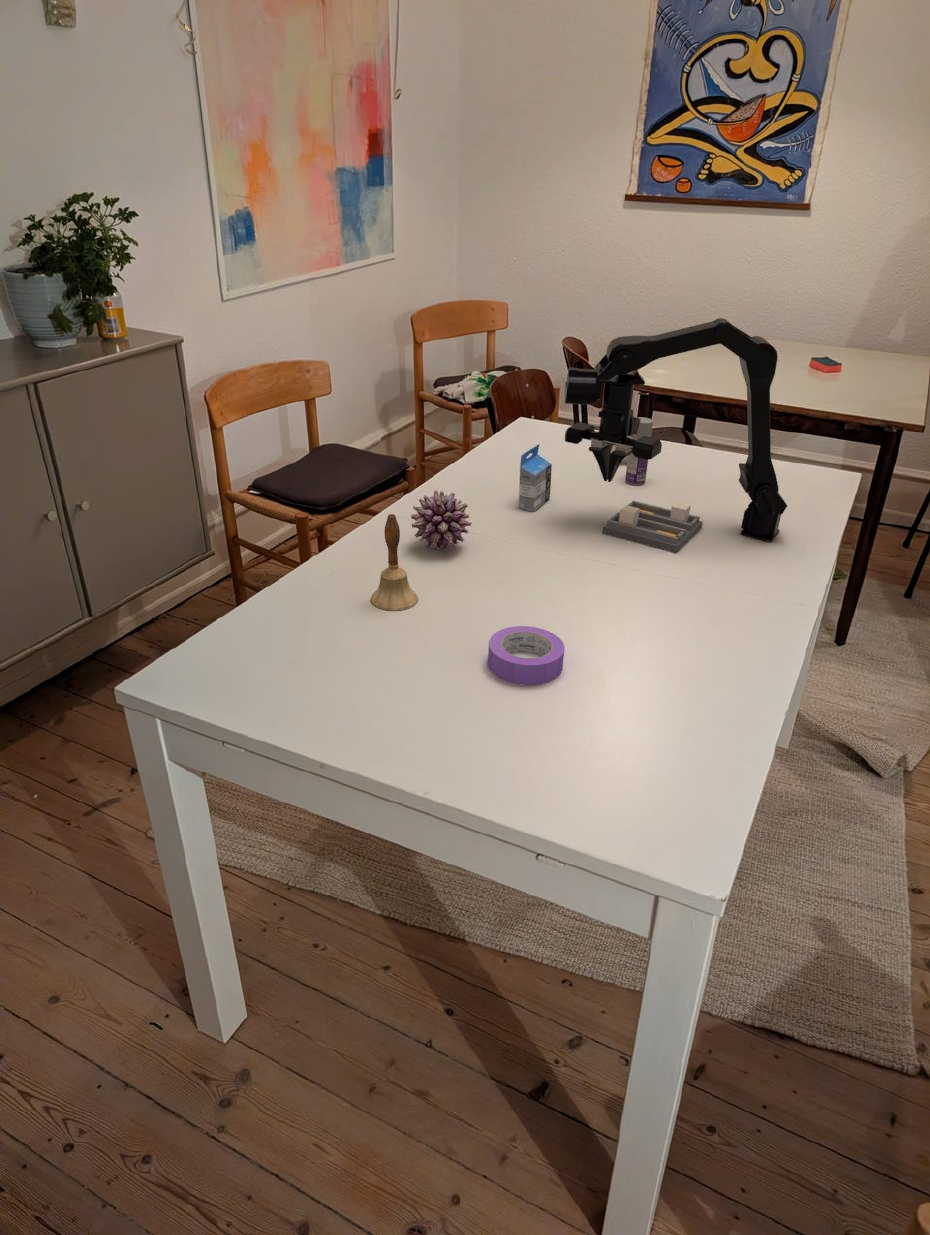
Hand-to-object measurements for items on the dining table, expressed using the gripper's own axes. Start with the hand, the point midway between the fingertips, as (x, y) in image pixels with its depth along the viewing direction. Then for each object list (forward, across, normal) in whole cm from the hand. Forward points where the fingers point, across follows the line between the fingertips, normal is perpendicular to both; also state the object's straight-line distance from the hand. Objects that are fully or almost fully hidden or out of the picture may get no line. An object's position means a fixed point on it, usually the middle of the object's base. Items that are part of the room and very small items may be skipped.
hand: (607, 481), depth 178 cm
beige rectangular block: (+8, -14, -8) cm, 18 cm away
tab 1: (+8, -5, 0) cm, 10 cm away
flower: (+10, +22, +29) cm, 38 cm away
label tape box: (+10, +18, -2) cm, 20 cm away
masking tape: (+10, -12, +56) cm, 58 cm away
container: (+10, +4, -28) cm, 30 cm away
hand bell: (+10, +17, +51) cm, 55 cm away
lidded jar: (+10, +14, -41) cm, 44 cm away
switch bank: (+10, -10, -4) cm, 14 cm away
